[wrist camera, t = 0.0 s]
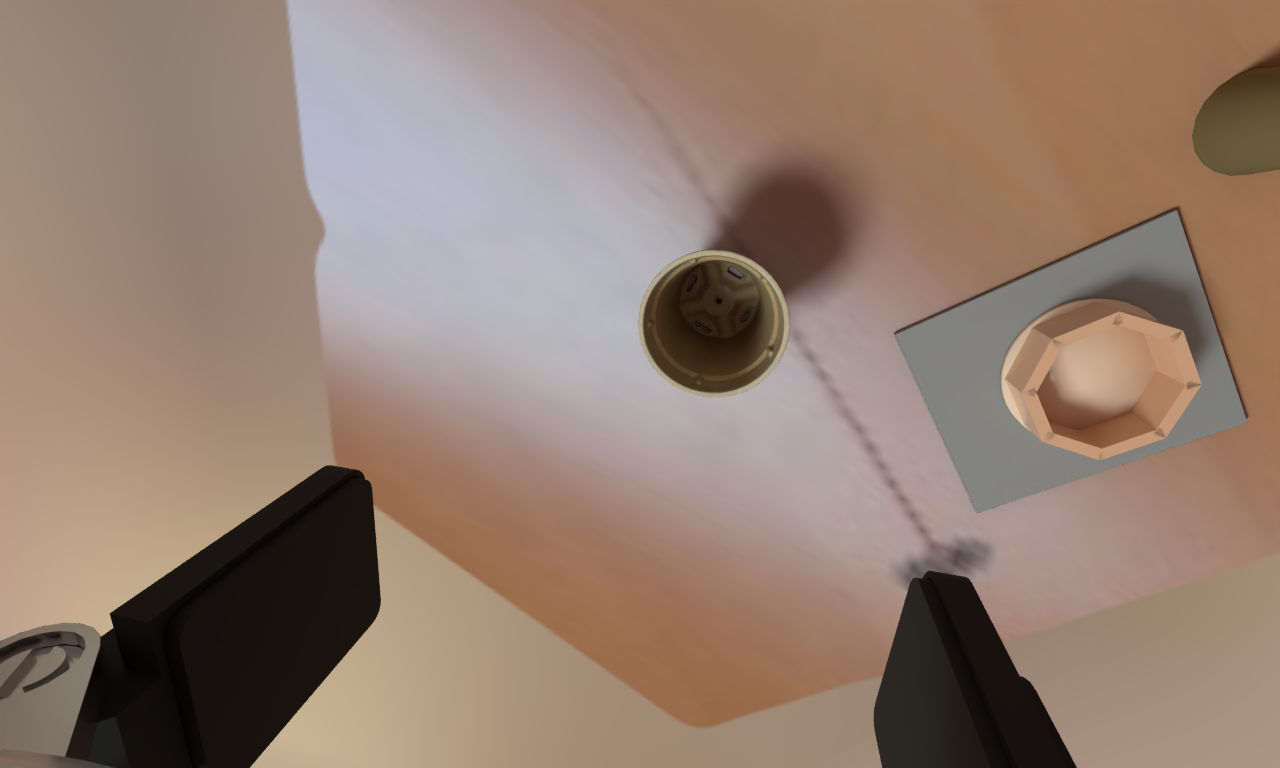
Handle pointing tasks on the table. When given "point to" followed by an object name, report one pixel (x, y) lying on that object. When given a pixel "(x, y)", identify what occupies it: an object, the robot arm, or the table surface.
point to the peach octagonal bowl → (1098, 377)
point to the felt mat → (986, 325)
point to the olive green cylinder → (1241, 124)
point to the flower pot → (714, 324)
